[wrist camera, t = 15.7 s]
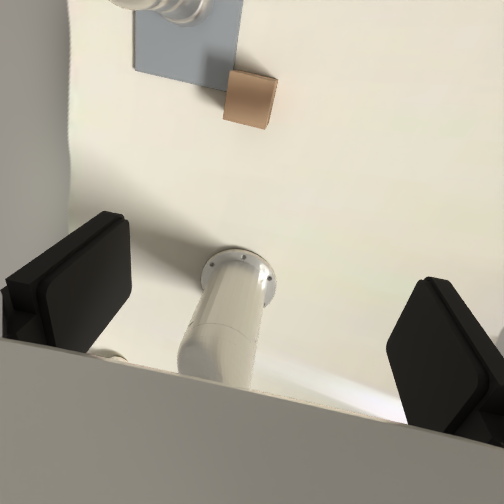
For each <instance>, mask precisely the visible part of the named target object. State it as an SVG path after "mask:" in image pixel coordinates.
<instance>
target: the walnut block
mask: <svg viewBox="0 0 504 504" xmlns="http://www.w3.org/2000/svg"><path fill="white" fill-rule="evenodd" d="M277 83H278V80H277V79H273V78H269V77H265V76H261V75H257V74H253V73H248V72H244V71H240V70H232V71H230V74H229V80H228V87H227V94H226V101H225V107H224V114H223V119H224V120H228V121H232V122H236V123H240V124H244V125H248V126H252V127H256V128H260V129H264V130H265V128H266V127H267V125H268V123H269V119H270V115H271V110H272V106H273V101H274V97H275V92H276V88H277Z"/></svg>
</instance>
